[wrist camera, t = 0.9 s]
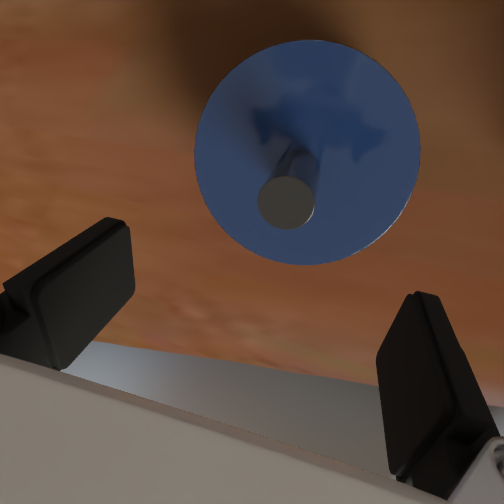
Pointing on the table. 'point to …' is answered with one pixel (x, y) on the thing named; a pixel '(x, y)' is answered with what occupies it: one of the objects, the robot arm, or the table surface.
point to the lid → (307, 152)
